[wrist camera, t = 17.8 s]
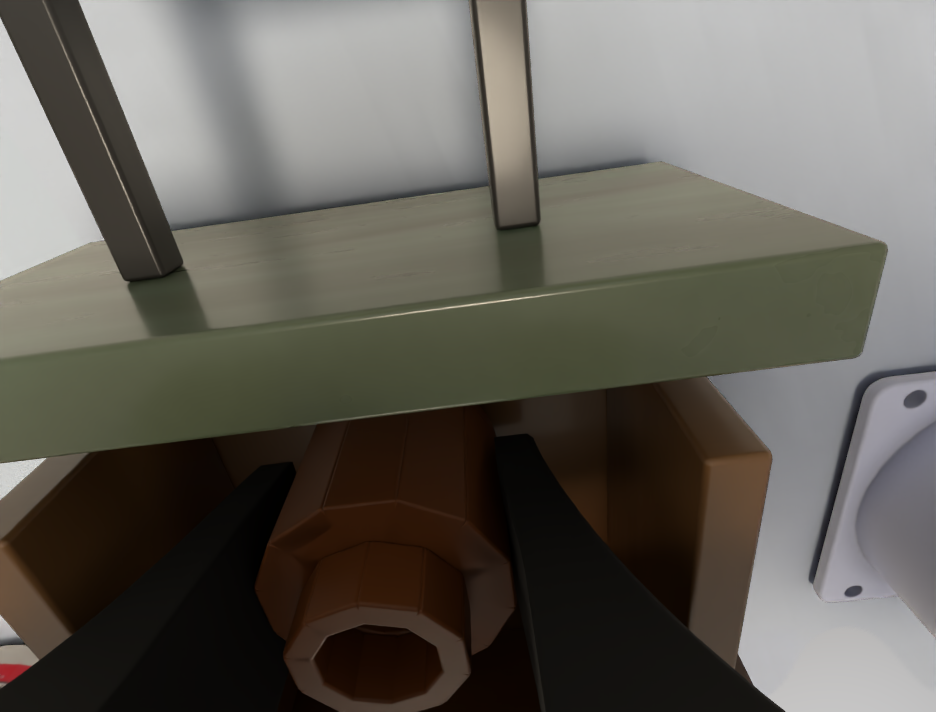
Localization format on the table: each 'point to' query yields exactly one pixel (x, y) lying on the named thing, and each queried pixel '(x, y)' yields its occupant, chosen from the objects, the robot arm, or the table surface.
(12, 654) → the pill bottle
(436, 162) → the table surface
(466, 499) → the spice bottle
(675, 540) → the drawer
